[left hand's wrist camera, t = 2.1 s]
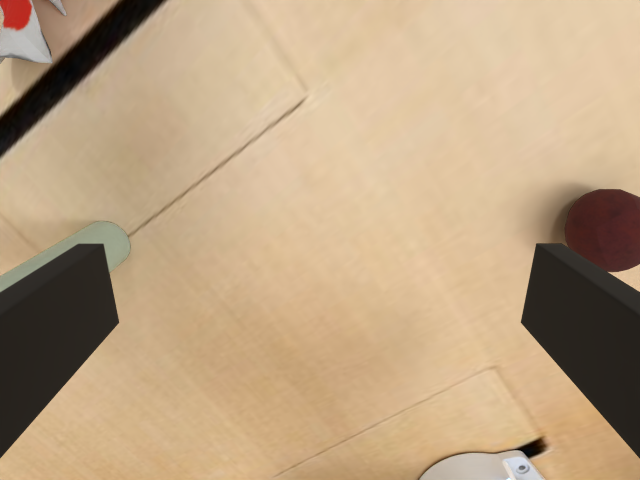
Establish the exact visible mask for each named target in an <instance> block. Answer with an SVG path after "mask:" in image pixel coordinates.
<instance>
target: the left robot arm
mask: <svg viewBox="0 0 640 480" xmlns="http://www.w3.org/2000/svg"><path fill="white" fill-rule="evenodd" d="M118 323H119V319H118V314H117V309H116V304H115V299H114V294H113V289H112V284H111V279H110V273H109V268H108V263H107V258H106V253H105V248H104V244H77V245H75V246H74V247H72V248H70V249H69V250H67V251H66V252H64V253H62V254H61V255H59V256H58V257H56V258H54V259H53V260H51V261H49V262H48V263H46V264H45V265H43V266H41V267H40V268H38V269H37V270H35V271H33V272H32V273H30V274H29V275H27V276H25V277H24V278H22V279H21V280H19V281H17V282H16V283H14V284H13V285H11V286H9V287H8V288H6V289H5V290H3V291H1V292H0V458H1V457H2V456H3V455H4V454H5V452H6V451H7V450H8V449H9V448H10V447H11V446H12V444H13V443H14V442H15V441H16V440H17V439H18V438H19V436H20V435H21V434H22V433H23V432H24V431H25V430H26V428H27V427H28V426H29V425H30V424H31V423H32V422H33V420H34V419H35V418H36V417H37V416H38V415H39V414H40V412H41V411H42V410H43V409H44V408H45V407H46V406H47V404H48V403H49V402H50V401H51V400H52V399H53V398H54V396H55V395H56V394H57V393H58V392H59V391H60V390H61V388H62V387H63V386H64V385H65V384H66V383H67V382H68V380H69V379H70V378H71V377H72V376H73V375H74V374H75V372H76V371H77V370H78V369H79V368H80V367H81V366H82V364H83V363H84V362H85V361H86V360H87V359H88V358H89V356H90V355H91V354H92V353H93V352H94V351H95V350H96V348H97V347H98V346H99V345H100V344H101V343H102V342H103V340H104V339H105V338H106V337H107V336H108V335H109V334H110V332H111V331H112V330H113V329H114V328H115V327H116V326H117V324H118ZM521 323H522V324H523V326H524V327H525V328H526V329H527V330H528V331H529V332H530V334H531V335H532V336H533V337H534V338H535V339H536V340H537V342H538V343H539V344H540V345H541V346H542V347H543V348H544V350H545V351H546V352H547V353H548V354H549V355H550V356H551V358H552V359H553V360H554V361H555V362H556V363H557V364H558V366H559V367H560V368H561V369H562V370H563V371H564V372H565V374H566V375H567V376H568V377H569V378H570V379H571V380H572V382H573V383H574V384H575V385H576V386H577V387H578V388H579V390H580V391H581V392H582V393H583V394H584V395H585V396H586V398H587V399H588V400H589V401H590V402H591V403H592V404H593V406H594V407H595V408H596V409H597V410H598V411H599V412H600V414H601V415H602V416H603V417H604V418H605V419H606V420H607V422H608V423H609V424H610V425H611V426H612V427H613V428H614V430H615V431H616V432H617V433H618V434H619V435H620V436H621V438H622V439H623V440H624V441H625V442H626V443H627V444H628V446H629V447H630V448H631V449H632V450H633V451H634V452H635V454H636V455H637V456H638V457H639V458H640V292H639V291H637V290H635V289H634V288H632V287H631V286H629V285H627V284H626V283H624V282H623V281H621V280H619V279H618V278H616V277H615V276H613V275H611V274H610V273H608V272H607V271H605V270H603V269H602V268H600V267H599V266H597V265H595V264H594V263H592V262H590V261H589V260H587V259H586V258H584V257H582V256H581V255H579V254H578V253H576V252H574V251H573V250H571V249H570V248H568V247H566V246H565V245H563V244H536V248H535V253H534V258H533V263H532V268H531V273H530V279H529V284H528V289H527V294H526V299H525V304H524V309H523V314H522V319H521Z"/></svg>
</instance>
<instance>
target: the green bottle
mask: <svg viewBox="0 0 640 480" xmlns="http://www.w3.org/2000/svg"><path fill="white" fill-rule="evenodd" d="M77 244H104V248H105V253H106V258H107V263H108V268H109V273H110V272H111V271H112V270H114V269H115V268H116V267H117V266H118V265H119V264H121V263H122V262H123V261H124V260H125V259H126V258H127V257H128V255H129V252H130V242H129V239H128V236H127V235H126V233H125V232H124V231H123V230H122V229H121V228H120V227H119V226H117V225H115V224H113V223H111V222H106V221H98V222H94V223H92V224H90V225H89V226H87V227H85V228H83V229H82V230H80V231H78V232H76V233H75V234H73V235H71V236H69V237H68V238H66V239H64V240H62V241H61V242H59V243H57V244H55V245H54V246H52V247H50V248H48V249H47V250H45V251H43V252H41V253H40V254H38V255H36V256H34V257H33V258H31V259H29V260H27V261H26V262H24V263H22V264H20V265H19V266H17V267H15V268H13V269H12V270H10V271H8V272H6V273H5V274H3V275H1V276H0V292H1V291H3V290H5V289H6V288H8V287H9V286H11V285H13V284H14V283H16V282H17V281H19V280H21V279H22V278H24V277H25V276H27V275H29V274H30V273H32V272H33V271H35V270H37V269H38V268H40V267H41V266H43V265H45V264H46V263H48V262H49V261H51V260H53V259H54V258H56V257H58V256H59V255H61V254H62V253H64V252H66V251H67V250H69V249H70V248H72V247H74V246H75V245H77Z"/></svg>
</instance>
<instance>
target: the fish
mask: <svg viewBox="0 0 640 480" xmlns="http://www.w3.org/2000/svg"><path fill="white" fill-rule="evenodd" d="M49 1H50V2H51V3H52V4H53V5H54V6H55V7H56V8H57V9H58V10H59V11H60V12H61V13H62V14H63V15H64V16H66V12H65V10H64V8H63V5H62V3H61V1H60V0H49ZM0 9H1V11H2V14H3V16H4V22H3V25H2V28H1V31H0V64H1V62H2V61H3V60H4V58H19V59H23V60H28V61H32V62H42V63H53V62H52V57H51V51H50V49H49V47H48V44H47V42H46V40H45V38H44V35H43V33H42V31H41V28H40V25H39V21H38V18H37V15H36V12H35V9H34V6H33V3H32V0H0Z"/></svg>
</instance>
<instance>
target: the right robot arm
mask: <svg viewBox="0 0 640 480" xmlns="http://www.w3.org/2000/svg"><path fill="white" fill-rule="evenodd" d="M419 480H546V479H545V478H544V477H543V476H542V475H541V473H540V472H539V471H538V470H537V468H536V467H535V466H534V465H533V464H532V462H531V461H530V460H529V459H528V458H527V456H526V455H525V454H524V453H523V452H522V451H519V450H512V451H506V452H502V453H498V454H488V453H466V454H460V455H456V456H452V457H449V458H447V459H444V460H442V461H440V462H438V463H437V464H435V465H433V466H432V467H431V468H429V469H428V470H427V471H426V472H425V473H424V474H423V475H422V477H421V478H420V479H419Z"/></svg>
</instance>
